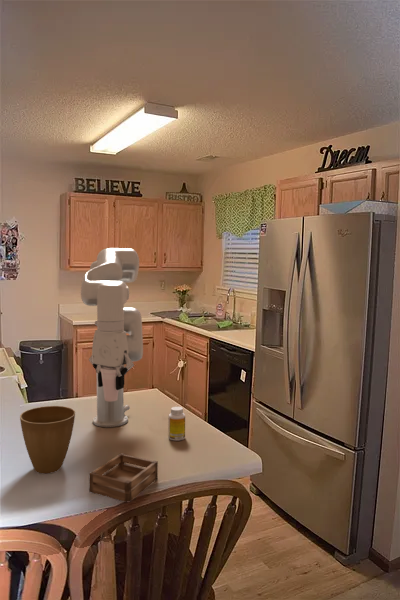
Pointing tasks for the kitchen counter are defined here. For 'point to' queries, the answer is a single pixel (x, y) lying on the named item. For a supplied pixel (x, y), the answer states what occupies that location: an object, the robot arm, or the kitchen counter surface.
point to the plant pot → (47, 436)
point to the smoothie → (109, 383)
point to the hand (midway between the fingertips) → (111, 386)
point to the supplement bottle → (176, 424)
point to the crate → (123, 477)
